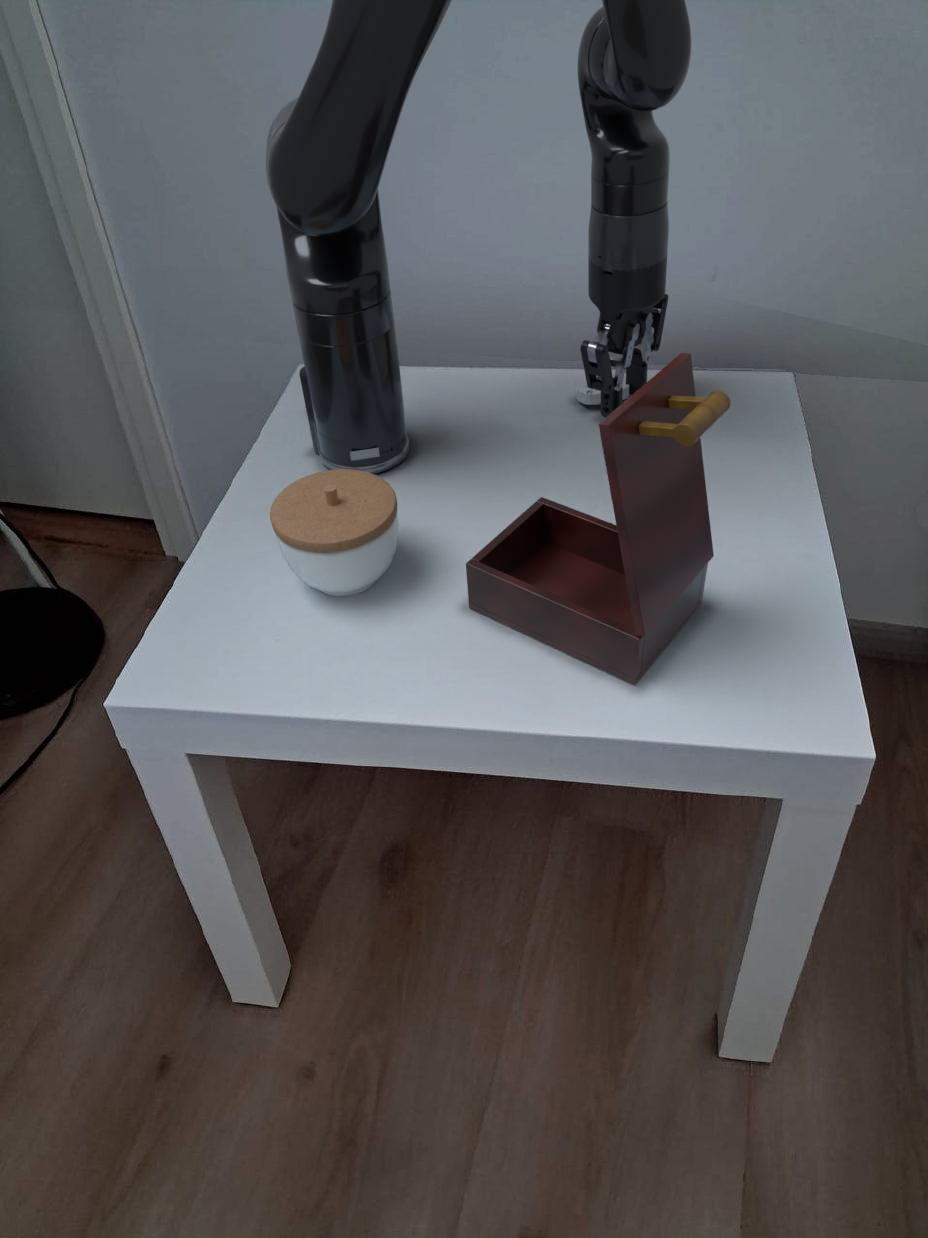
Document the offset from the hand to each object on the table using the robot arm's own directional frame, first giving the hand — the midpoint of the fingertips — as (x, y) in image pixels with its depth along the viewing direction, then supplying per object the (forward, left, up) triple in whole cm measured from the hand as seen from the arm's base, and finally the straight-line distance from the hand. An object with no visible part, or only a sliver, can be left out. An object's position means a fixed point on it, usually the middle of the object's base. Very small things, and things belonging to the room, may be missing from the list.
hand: (623, 405), depth 102 cm
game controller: (-1, -2, -1) cm, 2 cm away
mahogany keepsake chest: (+13, -29, -1) cm, 32 cm away
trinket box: (-7, -37, -1) cm, 38 cm away
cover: (+19, -29, +13) cm, 37 cm away
